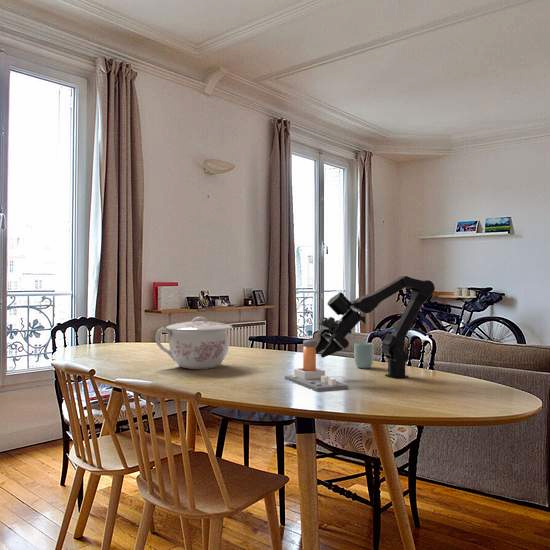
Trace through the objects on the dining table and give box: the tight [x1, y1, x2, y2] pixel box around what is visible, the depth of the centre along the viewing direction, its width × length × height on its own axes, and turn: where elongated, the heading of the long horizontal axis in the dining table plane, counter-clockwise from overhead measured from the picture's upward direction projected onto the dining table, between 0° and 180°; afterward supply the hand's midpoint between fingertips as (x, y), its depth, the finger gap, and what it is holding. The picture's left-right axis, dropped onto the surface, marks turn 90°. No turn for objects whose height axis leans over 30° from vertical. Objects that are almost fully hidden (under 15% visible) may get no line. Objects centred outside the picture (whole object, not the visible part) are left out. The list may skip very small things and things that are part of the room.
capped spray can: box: [302, 339, 317, 372], centre depth 203 cm, size 5×5×13 cm
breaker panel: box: [284, 367, 349, 392], centre depth 196 cm, size 24×12×4 cm, turn 25°
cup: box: [353, 341, 375, 369], centre depth 230 cm, size 8×8×10 cm
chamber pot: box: [154, 316, 234, 370], centre depth 230 cm, size 28×28×21 cm
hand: (317, 354), depth 203 cm, fingers open, 9 cm apart
